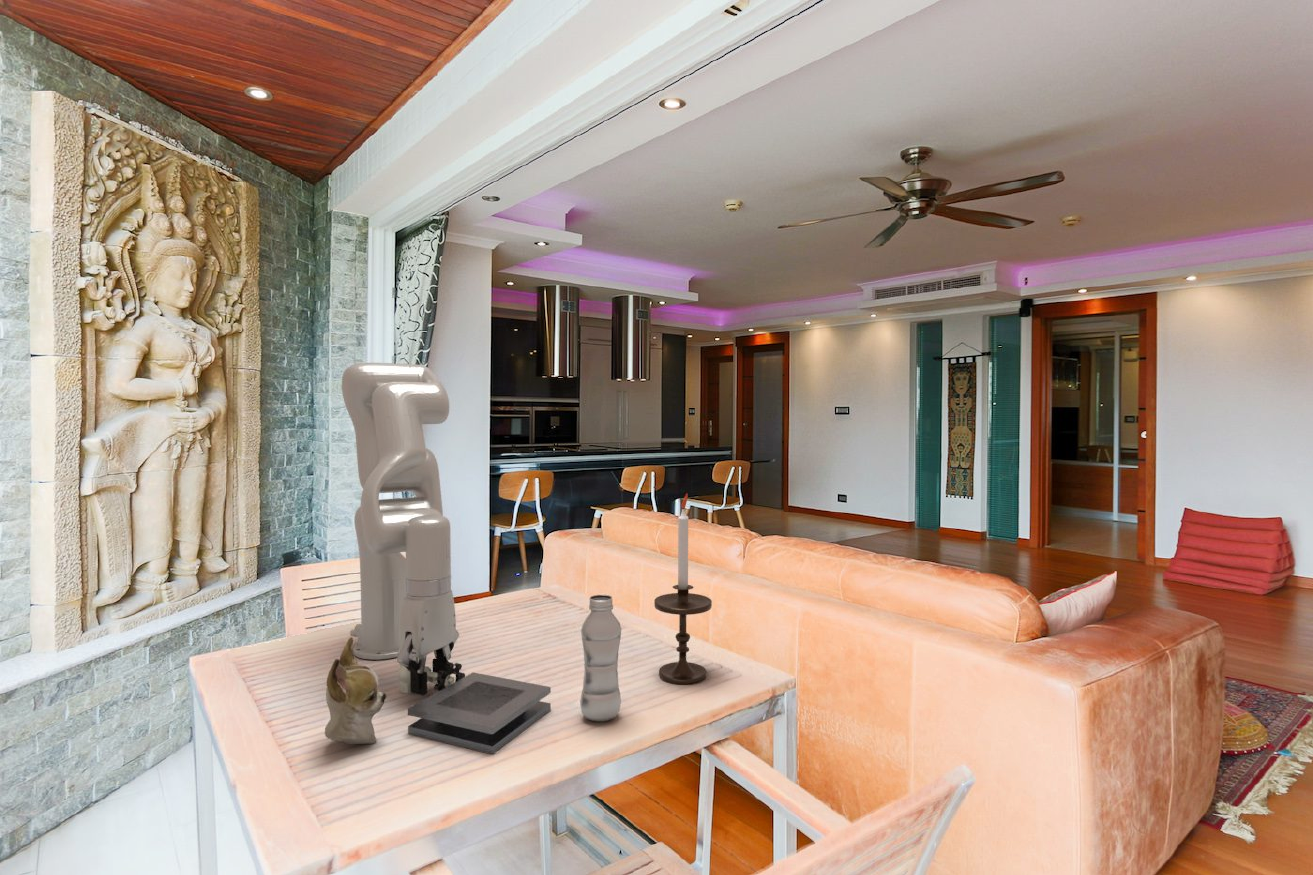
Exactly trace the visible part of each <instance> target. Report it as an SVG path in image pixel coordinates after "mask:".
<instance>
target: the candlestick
mask: <svg viewBox="0 0 1313 875" xmlns="http://www.w3.org/2000/svg"><path fill="white" fill-rule="evenodd" d="M688 498H689V497H688V493H686V494H685V496H684V498H683V500H682V503H681V508H682V509H681V513H680V515H678V525H677V526H678V530H677V531H678V532H677V533H678V540H677V542H678V545H677V546H678V548H677V550H678V552H677V554H678V555H677V556H678V558H677V559H678V560H677V562H678V563H677V566H678V568H677V570H678V571H677V572H678V573H677V575H678V576H677V581H678V582H677V584H675V585H673V586H672V588H673V589H674V590H677V592H673V593H666V594H665V593H664V594H661V595H659V596H657V597H655V599H654V603H653V604H654V608H655V610H658V611H660V612H661V613H664V614H665V613H666V614H671V615H678V617H679V623H678V626H679V629H678V631H679V632H678V633H676V634H675V640H676V641H677V642H678V646H677V647H676V652H678V654H679V655H678V661H675V662H669V663H666V664H664V665H662V666H660V668H659V670H658V677H659V679H661V681H663V682H666V683H667V684H671V685H677V686H680V685H681V686H688V685H689V686H691V685H697V684H699V683H702V682H704V681H705V680H706V679H707V669H706V667H704V666H702V664H701V665H700V664H697V663H693V662H689V661H687V653H688V652H689V651H690V647H688V642H690V641H689V640H690V639H691V635H690V633H688V632H687V616H688V615H689V616H690V615H697V614H704V613H706V612H708V611H710V610H711V609H712V604H713V601H712V599H711V598H710V597H708V596H705V595H702V594H698V593H690V592H689V590H692V589H694V586H693V585H691V584H689V516H687V514H686V509H685V508H686V504H687V500H688Z"/></svg>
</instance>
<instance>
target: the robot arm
mask: <svg viewBox="0 0 1313 875" xmlns="http://www.w3.org/2000/svg"><path fill="white" fill-rule="evenodd" d="M341 392H342V398H343V402H344V404H345V408H346V410H347V413H348V415H349V417H350V420H351V422H352V425H353V428H354V432H355V434H354V435H355V444H356V446H355V448H356V458H357V473H358V479H359V484H360V486H361V488H362V491H361V498H360V506H359V507H358V508H357V510H356V511H355V514H354V519H353V520H354V521H353V522H354V523H353V524H354V529H355V534H356V539H357V540H356V541H357V545H358V555H359V570H360V571H359V573H360V574H359V575H360V576H359V577H360V623H361V624H360V623H358V624H356V625H355V626H354V629H352V630H350V633H349V635H350V637H354V638H355V637H356V638H357V643H355V645H354V646H353V648H352V651H353V654H354V657H357V658H359V659H362V660H371V661H373V660H377V661H378V660H388V659H393V658H396V662H397V663H398V664H399V663H400V664H402V665H404V667H406V668H407V670H408V671H409V672H410V687H411V693H410V694H414V695H420V696H425V695H427V694H428V682H427V672H424V669H425V666H426V662H427V656H428V655H429V654H432V653H433V654H434V658H433V659H432V672H435V673H438V672H439V671H440V670H441V671H446V670H447V669H448V668H447V667H445V666H446V663H447V662H449V661H450V660H451V658H452V654H451V653H452V651H453V649H454V647H455V644H456V642H457V640H458V639H459V637H460V633H459V631H458V630H457V622H456V621H457V620H456V619H457V617H456V607H455V606H456V605H455V600H454V595H453V590H452V575H451V574H452V570H451V569H452V567H451V562H452V559H451V558H452V556H451V555H452V552H451V551H452V550H451V547H452V546H451V523H450V520H449V518H448V517H446V516H444V512H443V502H442V491H441V480H440V472H439V471H440V470H439V464H438V461H437V458H436V456H435V454H434V453H433V451H432V450H430V449H429V448H427V447H426V442H425V436H424V430H423V425H441V424H443V423H444V422H446V420H447V419H448V418H449V415H450V399H449V396H448V394H447V390H446V388H445V386H444V385H443V384H442V381H440V379H439V378H438V376H437V375H436V374H434V372H433V371H432V370H431V369H430V368H429V367H427V366H425V365H423V364H417V363H415V364H412V363H410V364H409V363H394V362H393V363H390V362H389V363H388V362H361V363H355V364H354V363H353V364H351V365H350V366H347V368H345V369H344V371H343V374H342V377H341ZM406 492H412V493H413V494H414V495H415V496H412V497H397V498H395V497H394V498H384V499H380V494H387V493H388V494H389V493H406ZM404 552H405V556H404V555H403V553H404ZM416 657H418V658H419V663H417V662H416Z"/></svg>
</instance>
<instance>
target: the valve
mask: <svg viewBox="0 0 1313 875" xmlns="http://www.w3.org/2000/svg"><path fill="white" fill-rule="evenodd" d="M416 662H417V663H419V658H418V657H416ZM398 664H399V667H398V671H397V674H398V675H397V677H398V679H399V680H400V682H399V692H400V693H403V694H412V693H411V687H410V672H409V671H408V670H407V668H406V667H404V665H402V664H400V663H398ZM445 667H447V668H448V669H447V670H446V671H441V670H440V671H439V672H438V673H435V672H433V671H432V669H431V668H430V666H426V665H425V669H424V672H427V683H428V682H429V683H434V686H433V689H434V690H435V691H437V692H439V691H440V690H442V689H444V688H446V687H448V686H449V685H451V684H453V683H455V682H457V681H458V680H460V679H462V678H464V677H466V673H464V672H461V671H460V670H462V667H463V665H462V663H459V662H456V663H453V662H447V663H446V666H445ZM451 675H455V677H453V676H451Z"/></svg>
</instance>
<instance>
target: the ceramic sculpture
mask: <svg viewBox="0 0 1313 875" xmlns="http://www.w3.org/2000/svg"><path fill="white" fill-rule="evenodd" d="M353 637H354V636H350V637H349V638H348V640H347V642H346V644H345V646H344V648H343V650H342V652H341V654H340V657H339V658H337V657H336V658H335V659H334V661H333V663H332V665H331V667H330V670H329V671H328V674H327V677H326V678H327V679H326V693H325V700H326V705H327V707H328V710H329V715H330V719H329V721H328V722H327V724H326V725H325V728H324V736H325V737H326V738H327V739H329V740H332V741H336V742H340V741H341V742H344V743H345V744H352V745H361V744H362V745H367V744H371V745H372V744H375V743H377V737H376V735H375V734H376V733H375V729H374V724H373V722H372V720H373V717H374V716H375V715H376V714H378V713H379V712H380V711H381V710H382V707H383V706H384V704H385V701H386V700H387V699H386V698H387V693H386V692H382V691H379V677H378V676H379V675H378V674H377V673H376V672H375V671H374V670H373V669H372V668H371V667H370V666H366V665H363V664H362V665H360V664H358V661H357V659H356V658H355V655H354V651H353V648H352V647H353V644H354V638H353Z"/></svg>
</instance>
